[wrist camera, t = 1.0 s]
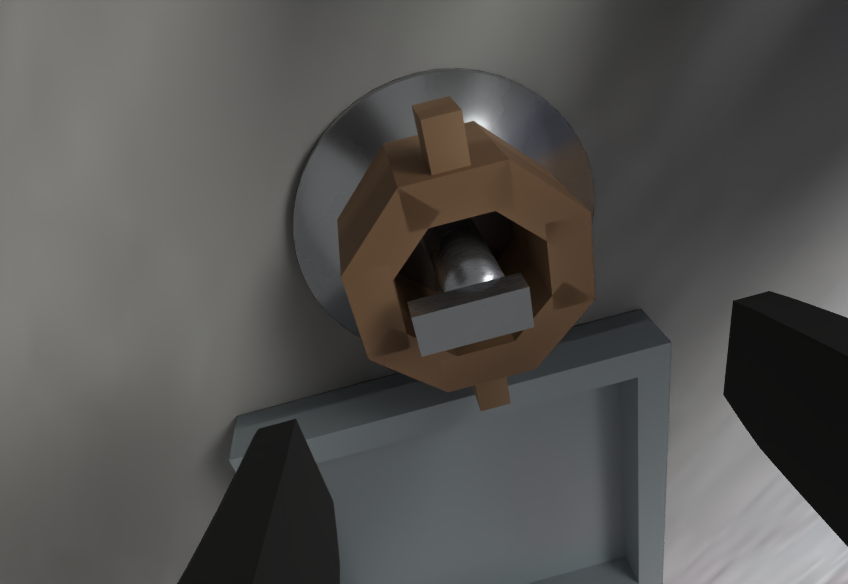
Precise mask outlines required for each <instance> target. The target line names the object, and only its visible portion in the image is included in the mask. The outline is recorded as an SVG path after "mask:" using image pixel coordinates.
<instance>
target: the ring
mask: <svg viewBox="0 0 848 584" xmlns="http://www.w3.org/2000/svg"><path fill="white" fill-rule="evenodd" d="M412 110H413V115H414V119H415V124H416V129H417V133H418V135H415V136H411V137H407V138H403V139H399V140H396V141H392V142H388V143H384V144H382V146H381V148H380V149H379V151H378V153H377V154H376V156H375V158H374V159H373V161H372V163H371V164H370V166H369V168H368V169H367V171H366V173H365V174H364V176H363V178H362V179H361V181H360V183H359V184H358V186H357V187H356V189H355V191H354V192H353V194H352V196H351V197H350V199H349V201H348V202H347V204H346V206H345V207H344V209H343V211H342V212H341V214H340V216H339V217H338V219H337V226H338V241H339V256H340V271H341V279H342V282H343V285H344V288H345V291H346V294H347V297H348V300H349V303H350V306H351V309H352V312H353V315H354V318H355V321H356V324H357V327H358V330H359V333H360V336H361V339H362V342H363V345H364V348H365V351H366V354H367V357H368V360H371V361H373V362H376V363H378V364H380V365H383V366H385V367H388V368H390V369H392V370H395V371H397V372H400V373H402V374H405V375H407V376H409V377H412V378H414V379H417V380H419V381H421V382H424V383H426V384H429V385H431V386H434V387H436V388H438V389H441V390H443V391H446V392H451V391H455V390H459V389H462V388H466V387H470V386H472V387H473V390H474V393H475V396H476V399H477V402H478V404H479V407H480V410H481V411H484V410H488V409H492V408H496V407H499V406H503V405H507V404H511V401H510V395H509V389H508V383H507V376H511V375H515V374H519V373H522V372H526V371H530V370H534V369H536V368H537V367H538V366H539V365H540V364H541V363H542V361H543V360H544V359H545V358H546V357H547V356H548V354H549V353H550V352H551V351H552V350H553V349H554V347H555V346H556V345H557V344H558V343H559V342H560V340H561V339H562V338H563V337H564V336H565V335H566V333H567V332H568V331H569V330H570V329H571V328H572V326H573V325H574V324H575V323H576V322H577V321H578V319H579V318H580V317H581V316H582V315H583V314H584V312H585V311H586V310H587V309H588V308H589V307H590V305H591V304H592V303H593V302H594V301H595V300H596V299H595V280H594V261H593V241H592V222H591V212H590V211H589V210H588V209H587V208H586V207H585V206H584V205H583V204H582V203H581V202H580V201H579V200H578V199H577V198H576V197H575V196H574V195H573V194H572V193H570V192H569V191H568V190H567V189H566V188H565V187H564V186H563V185H562V184H561V183H560V182H559V181H558V180H557V179H556V178H555V177H554V176H553V175H552V174H551V173H550V172H549V171H548V170H546V169H545V168H544V167H543V166H542V165H540V164H539V163H537V162H536V161H534V160H533V159H531V158H530V157H528V156H527V155H525V154H524V153H522V152H521V151H519V150H517V149H516V148H514V147H513V146H511V145H510V144H508V143H507V142H505V141H504V140H502V139H501V138H499V137H498V136H496V135H495V134H493V133H492V132H490V131H489V130H487V129H486V128H484V127H483V126H481V125H480V124H478V123H477V122H475V121H470V122H466V123H464V120H463V114H462V109H461V108H460V107H459V106H458V105H457V104H456V103H455V102H454V100H453V99H452V98H451V97H450V96H447V97H443V98H439V99H435V100H431V101H427V102H423V103H420V104H416V105H412ZM493 211H497V212H498V213H500V214H502V215H503V216H505V217H507V218H508V219H510V220H511V221H512V228H513V236H514V240H513V241H512V242H511V244H510V245H509V246H508V248H507V249H506V250H505V252H504V253H503V254H502V256H501V257H500V258H499V260H498V261H497V263H498V265H499V267H500V269H501V270H502V272H503V274H504V276H508V275H512V274H516V273H521V274H522V276H523V278H524V279H525V281H526V282H527V284H528V286H529V288H530V296H531V304H532V312H533V320H534V327H533V328H529V329H525V330H522V331H518V332H514V333H510V334H506V335H503V336H499V337H495V338H491V339H488V340H484V341H480V342H476V343H472V344H469V345H465V346H461V347H457V348H454V349H450V350H446V351H442V352H438V353H435V354H431V355H427V356H423V357H422V356H421V353H420V349H419V345H418V341H417V338H416V334H415V330H414V326H413V322H412V319H411V315H410V311H409V307H408V303H407V302H409V301H413V300H416V299H420V298H424V297H428V296H432V295H436V294H439V293H442V290H440V291H436V292H434V291H432V290H430V289H428V288H426V287H424V286H422V285H420V284H418V283H416V282H414V281H412V280H410V279H408V278H406V277H404V276H402V275H400V274H398V272H399V271H400V270H401V268H402V267H403V265H404V264H405V262H406V261H407V259H408V258H409V256H410V255H411V253H412V252H413V250H414V249H415V247H416V246H417V245H418V243H419V242H420V240H421V239H422V237H423V236H424V234H425V233H426V231H427V230H428V228H431V227H435V226H439V225H443V224H447V223H451V222H455V221H459V220H462V219H466V218H470V217H474V216H478V215H482V214H486V213H489V212H493Z"/></svg>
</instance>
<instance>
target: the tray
mask: <svg viewBox="0 0 848 584" xmlns="http://www.w3.org/2000/svg"><path fill="white" fill-rule="evenodd" d="M670 363H671V342H670V340H669V339H668V338H667V337H666V336H665V335H664V334H663V333H662V332H661V330H660V329H659V328H658V327H657V326H656V325H655V324H654V323H653V322H652V320H651V319H650V318H649V317H648V316H647V315H646V314H645V313H644V312H643V310H642V309H639V310H636V311H632V312H628V313H624V314H621V315H617V316H613V317H609V318H605V319H602V320H598V321H594V322H590V323H587V324H583V325H579V326H575V327H572V328H571V329H570V330H569V331H568V332H567V333H566V335H565V336H564V337H563V338H562V339H561V340H560V342H559V343H558V344H557V345H556V346H555V347H554V349H553V350H552V351H551V352H550V353H549V354H548V356H547V357H546V358H545V359H544V360H543V361H542V363H541V364H540V365H539V366H538V367H537V368H536V369H534V370H530V371H526V372H522V373H519V374H515V375H511V376H507V383H508V389H509V395H510V401H511V404H507V405H503V406H499V407H496V408H492V409H488V410H484V411H481V410H480V407H479V404H478V402H477V399H476V396H475V393H474V390H473V387H472V386H470V387H466V388H462V389H459V390H455V391H451V392H446V391H443V390H441V389H438V388H436V387H434V386H431V385H429V384H426V383H424V382H421V381H419V380H417V379H414V378H412V377H409V376H407V375H405V374H402V373H398V374H394V375H390V376H387V377H383V378H379V379H375V380H372V381H368V382H364V383H360V384H357V385H353V386H349V387H345V388H341V389H338V390H334V391H330V392H326V393H323V394H319V395H315V396H311V397H308V398H304V399H300V400H296V401H292V402H289V403H285V404H281V405H277V406H274V407H270V408H266V409H262V410H259V411H255V412H251V413H247V414H243V415H240V416H237V418H236V423H235V429H234V434H233V440H232V446H231V451H230V457H229V462H230V463H231V465H232V467H233V469H234V470H235V472H236V471H237V469H238V467H239V465H240V463H241V461H242V459H243V457H244V455H245V453H246V451H247V449H248V447H249V445H250V443H251V440H252V438H253V436H254V435H255V433H256V432H257V430H258V429H259V428H263V427H267V426H270V425H274V424H278V423H282V422H285V421H289V420H293V419H296V420H297V422H298V424H299V426H300V429H301V431H302V433H303V435H304V437H305V440H306V442H307V444H308V446H309V448H310V451H311V453H312V455H313V457H314V460H315V462H316V464H317V466H318V468H319V471H320V473H321V475H322V477H323V479H324V482H325V484H326V486H327V488H328V491H329V493H330V495H331V497H332V499H333V502H334V511H335V520H336V529H337V538H338V548H339V559H340V584H663V560H664V532H665V503H666V475H667V447H668V419H669V391H670Z"/></svg>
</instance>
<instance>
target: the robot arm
mask: <svg viewBox="0 0 848 584" xmlns="http://www.w3.org/2000/svg"><path fill="white" fill-rule="evenodd" d="M723 395H724V396H725V398H726V399H727V401H728V402H729V404H730V405H731V407H732V408H733V410H734V411H735V413H736V414H737V416H738V417H739V419H740V420H741V422H742V424H743V425H744V426H745V428H746V429H747V431H748V432H749V433H750V435H751V436H752V438H753V439H754V440H755V442H756V443H757V445H758V446H759V447H760V449H761V450H762V451H763V452H764V453H765V454H766V456H767V457H768V458H769V459H770V460H771V461H772V462H773V464H774V465H775V466H776V467H777V468H778V469H779V470H780V471H781V473H782V474H783V475H784V476H785V477H786V478H787V479H788V481H789V482H790V483H791V484H792V485H793V486H794V487H795V488H796V490H797V491H798V492H799V493H800V494H801V495H802V496H803V497H804V499H805V500H806V501H807V502H808V503H809V504H810V505H811V506H812V507H813V509H814V510H815V511H816V512H817V513H818V514H819V515H820V516H821V517H822V519H823V520H824V521H825V522H826V523H827V524H828V525H829V526H830V527H831V529H832V530H833V531H834V532H835V533H836V534H837V535H838V536H839V537H840V539H841V540H842V541H843V542H844V543H845V544H846V545H847V546H848V318H846V317H843V316H841V315H838V314H835V313H833V312H830V311H827V310H824V309H821V308H819V307H816V306H813V305H810V304H807V303H805V302H802V301H799V300H796V299H793V298H790V297H787V296H784V295H780V294H777V293H774V292H770V291H768V292H764V293H761V294H757V295H753V296H749V297H746V298H742V299H738V300H735V301H733V306H732V316H731V326H730V335H729V345H728V355H727V365H726V374H725V384H724V394H723ZM177 584H340V559H339V548H338V538H337V529H336V520H335V511H334V502H333V499H332V497H331V495H330V493H329V491H328V488H327V486H326V484H325V482H324V479H323V477H322V475H321V473H320V471H319V468H318V466H317V464H316V462H315V460H314V457H313V455H312V453H311V451H310V448H309V446H308V444H307V442H306V440H305V437H304V435H303V433H302V431H301V429H300V426H299V424H298V422H297V420H296V419H293V420H289V421H285V422H282V423H278V424H274V425H270V426H267V427H263V428H259V429H258V430H257V432H256V433H255V435H254V436H253V438H252V440H251V443H250V445H249V447H248V449H247V451H246V453H245V455H244V457H243V459H242V461H241V463H240V465H239V467H238V469H237V471H236V473H235V475H234V477H233V479H232V481H231V483H230V485H229V487H228V489H227V491H226V493H225V495H224V497H223V499H222V501H221V503H220V505H219V507H218V509H217V511H216V513H215V515H214V517H213V519H212V521H211V523H210V525H209V527H208V528H207V530H206V532H205V534H204V536H203V538H202V540H201V542H200V543H199V545H198V547H197V549H196V551H195V553H194V555H193V557H192V559H191V560H190V562H189V564H188V566H187V568H186V569H185V571H184V573H183V575H182V576H181V578H180V580H179V582H178V583H177Z"/></svg>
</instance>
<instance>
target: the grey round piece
mask: <svg viewBox="0 0 848 584" xmlns="http://www.w3.org/2000/svg"><path fill="white" fill-rule="evenodd" d="M447 96H450V97H451V98H452V99H453V100H454V102H455V103H456V104H457V105H458V106H459V107H460V108H461V109H462V114H463V120H464V123H466V122H470V121H475V122H477V123H478V124H480V125H481V126H483V127H484V128H486V129H487V130H489V131H490V132H492V133H493V134H495V135H496V136H498V137H499V138H501V139H502V140H504V141H505V142H507V143H508V144H510V145H511V146H513V147H514V148H516V149H517V150H519V151H521V152H522V153H524V154H525V155H527V156H528V157H530V158H531V159H533V160H534V161H536V162H537V163H539V164H540V165H542V166H543V167H544V168H545V169H546V170H548V171H549V172H550V173H551V174H552V175H553V176H554V177H555V178H556V179H557V180H558V181H559V182H560V183H561V184H562V185H563V186H564V187H565V188H566V189H567V190H568V191H569V192H570V193H572V194H573V195H574V196H575V197H576V198H577V199H578V200H579V201H580V202H581V203H582V204H583V205H584V206H585V207H586V208H587V209H588V210H589V211H590V212H591V222H592V221H593V215H594V188H593V179H592V174H591V170H590V166H589V162H588V159H587V156H586V154H585V152H584V149H583V147H582V145H581V142H580V141H579V139H578V137H577V136H576V134H575V133H574V131H573V129H572V128H571V126H570V125H569V124H568V122H567V121H566V120H565V119H564V118H563V117H562V116H561V114H560V113H559V112H558V111H557V110H556V109H555V108H554V107H552V106H551V105H550V104H549V103H548V102H546V101H545V100H544V99H543V98H542V97H540V96H539V95H537V94H535V93H534V92H532V91H530V90H529V89H527V88H526V87H524V86H522V85H521V84H519V83H516V82H514V81H512V80H509V79H507V78H505V77H502V76H499V75H495V74H491V73H488V72H484V71H479V70H470V69H460V68H454V69H435V70H429V71H423V72H418V73H413V74H410V75H407V76H404V77H401V78H398V79H395V80H392V81H390V82H388V83H386V84H384V85H382V86H380V87H378V88H376V89H374V90H372V91H370V92H369V93H367V94H366V95H364V96H363V97H361V98H360V99H358V100H357V101H355V102H354V103H353V104H352V105H351V106H349V107H348V108H347V109H346V110H345V111H344V112H343V113H341V114H340V115H339V116H338V117H337V118H336V119H335V120H334V122H333V123H332V124H331V125H330V126H329V127H328V128H327V130H326V131H325V132H324V133H323V135H322V136H321V138H320V139H319V141H318V142H317V144H316V145H315V147H314V148H313V150H312V152H311V154H310V156H309V158H308V160H307V162H306V164H305V167H304V169H303V171H302V175H301V178H300V181H299V184H298V188H297V193H296V199H295V205H294V214H293V236H294V243H295V250H296V255H297V258H298V262H299V265H300V269H301V271H302V274H303V276H304V278H305V280H306V282H307V284H308V287H309V288H310V290H311V291H312V293H313V294H314V296H315V297H316V299H317V301H318V302H319V303H320V304H321V305H322V306H323V308H324V309H325V310H326V311H327V312H328V313H329V315H331V316H332V317H333V318H334V319H335V320H336V321H337V322H339V323H340V324H341V325H342V326H343V327H345V328H346V329H348V330H349V331H351V332H352V333H354V334H355V335H357V336H359V337H361V336H360V333H359V330H358V327H357V324H356V321H355V318H354V315H353V312H352V309H351V306H350V303H349V300H348V297H347V294H346V291H345V288H344V285H343V282H342V279H341V271H340V256H339V241H338V226H337V219H338V217H339V216H340V214H341V212H342V211H343V209H344V207H345V206H346V204H347V202H348V201H349V199H350V197H351V196H352V194H353V192H354V191H355V189H356V187H357V186H358V184H359V183H360V181H361V179H362V178H363V176H364V174H365V173H366V171H367V169H368V168H369V166H370V164H371V163H372V161H373V159H374V158H375V156H376V154H377V153H378V151H379V149H380V148H381V146H382V144H384V143H388V142H392V141H396V140H399V139H403V138H407V137H411V136H415V135H418V133H417V129H416V124H415V119H414V115H413V110H412V105H416V104H420V103H423V102H427V101H431V100H435V99H439V98H443V97H447ZM513 240H514V236H513V228H512V221H511V220H510V219H508V218H507V217H505V216H503V215H502V214H500V213H498V212H497V211H493V212H489V213H486V214H482V215H478V216H474V217H470V218H466V219H462V220H459V221H455V222H451V223H447V224H443V225H439V226H435V227H431V228H428V230H427V231H426V233H425V234H424V236H423V237H422V239H421V240H420V242H419V243H418V245H417V246H416V247H415V249H414V250H413V252H412V253H411V255H410V256H409V258H408V259H407V261H406V262H405V264H404V265H403V267H402V268H401V270H400V271H399V272H398V274H400V275H402V276H404V277H406V278H408V279H410V280H412V281H414V282H416V283H418V284H420V285H422V286H424V287H426V288H428V289H430V290H432V291H434V292H436V291H440V290H442V293H439V294H436V295H432V296H428V297H424V298H420V299H416V300H413V301H409V302H407V303H408V307H409V311H410V315H411V319H412V322H413V326H414V330H415V334H416V338H417V341H418V345H419V349H420V353H421V356H422V357H423V356H427V355H431V354H435V353H438V352H442V351H446V350H450V349H454V348H457V347H461V346H465V345H469V344H472V343H476V342H480V341H484V340H488V339H491V338H495V337H499V336H503V335H506V334H510V333H514V332H518V331H522V330H525V329H529V328H533V327H534V320H533V312H532V304H531V296H530V288H529V286H528V284H527V282H526V281H525V279H524V278H523V276H522V274H521V273H516V274H512V275H508V276H504V274H503V272H502V270H501V269H500V267H499V265H498V263H497V261H498V260H499V258H500V257H501V256H502V254H503V253H504V252H505V250H506V249H507V248H508V246H509V245H510V244H511V242H512V241H513Z"/></svg>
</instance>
